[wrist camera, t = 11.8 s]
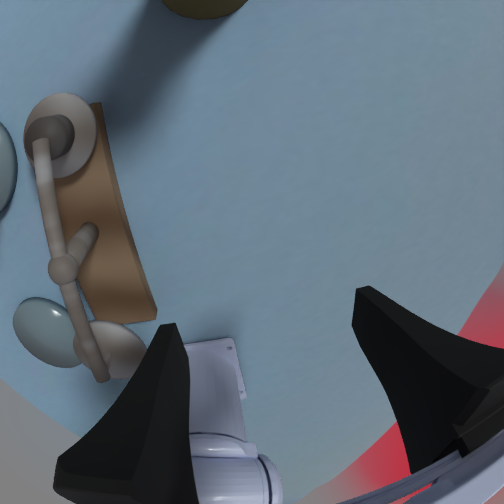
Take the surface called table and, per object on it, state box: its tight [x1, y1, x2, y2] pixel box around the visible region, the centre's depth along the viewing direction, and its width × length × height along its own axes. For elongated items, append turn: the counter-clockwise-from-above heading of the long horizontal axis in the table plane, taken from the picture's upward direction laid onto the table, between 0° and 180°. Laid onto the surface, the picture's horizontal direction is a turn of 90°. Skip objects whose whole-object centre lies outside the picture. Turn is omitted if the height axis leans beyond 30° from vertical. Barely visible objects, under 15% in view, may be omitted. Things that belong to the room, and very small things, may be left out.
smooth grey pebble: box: [13, 297, 82, 368], centre depth 22 cm, size 8×8×1 cm
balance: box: [24, 93, 157, 383], centre depth 15 cm, size 19×5×8 cm, turn 7°
